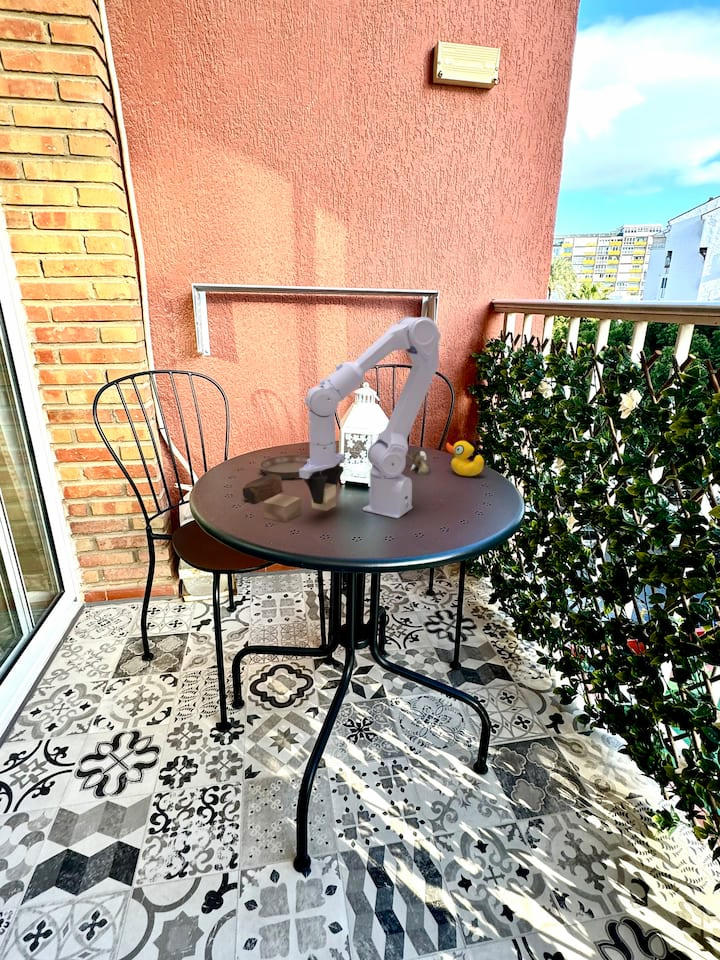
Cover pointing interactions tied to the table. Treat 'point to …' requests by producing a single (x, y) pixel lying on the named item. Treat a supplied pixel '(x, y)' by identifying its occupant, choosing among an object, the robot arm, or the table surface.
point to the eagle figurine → (420, 462)
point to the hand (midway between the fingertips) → (324, 500)
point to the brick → (262, 488)
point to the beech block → (327, 498)
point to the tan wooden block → (282, 508)
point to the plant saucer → (284, 465)
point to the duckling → (465, 459)
